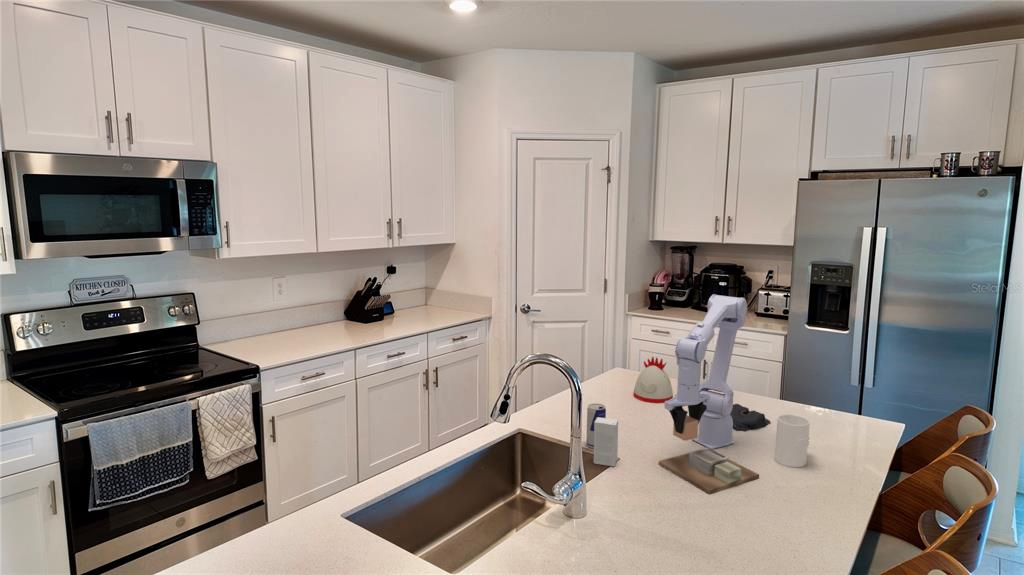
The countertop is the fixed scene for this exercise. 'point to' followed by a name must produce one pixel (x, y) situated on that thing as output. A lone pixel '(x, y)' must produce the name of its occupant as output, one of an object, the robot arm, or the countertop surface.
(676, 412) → the robot arm
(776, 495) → the countertop surface
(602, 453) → the skincare box
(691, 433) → the terracotta block
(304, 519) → the countertop surface
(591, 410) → the energy drink
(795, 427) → the mug
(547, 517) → the countertop surface
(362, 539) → the countertop surface
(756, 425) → the dark slate chunk
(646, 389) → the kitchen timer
